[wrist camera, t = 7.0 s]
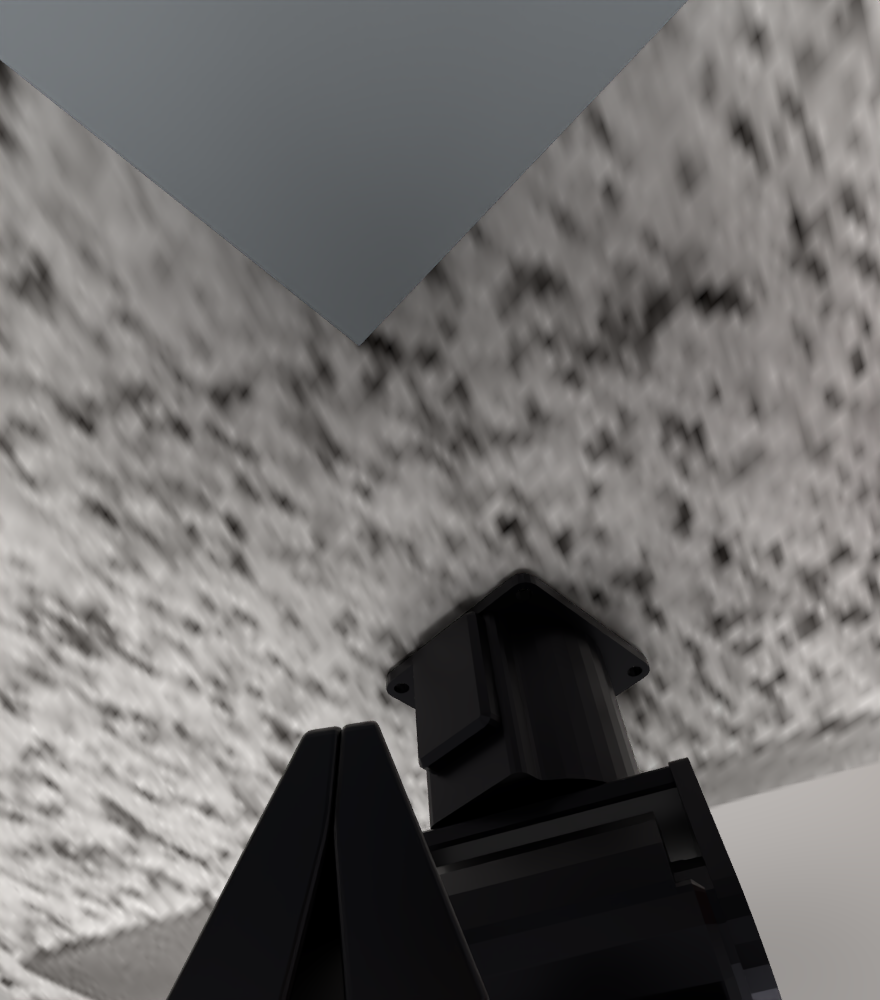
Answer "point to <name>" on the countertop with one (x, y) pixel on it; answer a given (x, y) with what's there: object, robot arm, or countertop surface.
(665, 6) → the post stand
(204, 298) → the countertop surface
